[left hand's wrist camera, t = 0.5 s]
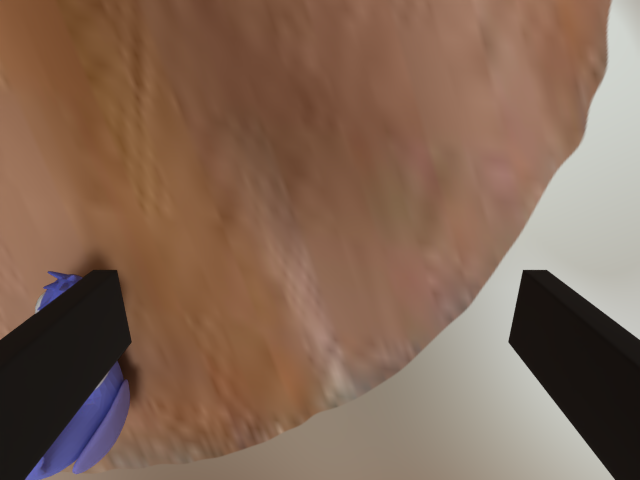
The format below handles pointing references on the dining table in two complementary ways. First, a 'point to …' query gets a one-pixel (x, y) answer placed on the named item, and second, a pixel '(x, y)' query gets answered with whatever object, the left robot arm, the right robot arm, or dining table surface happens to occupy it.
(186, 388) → the dining table surface
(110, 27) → the dining table surface
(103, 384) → the toy
